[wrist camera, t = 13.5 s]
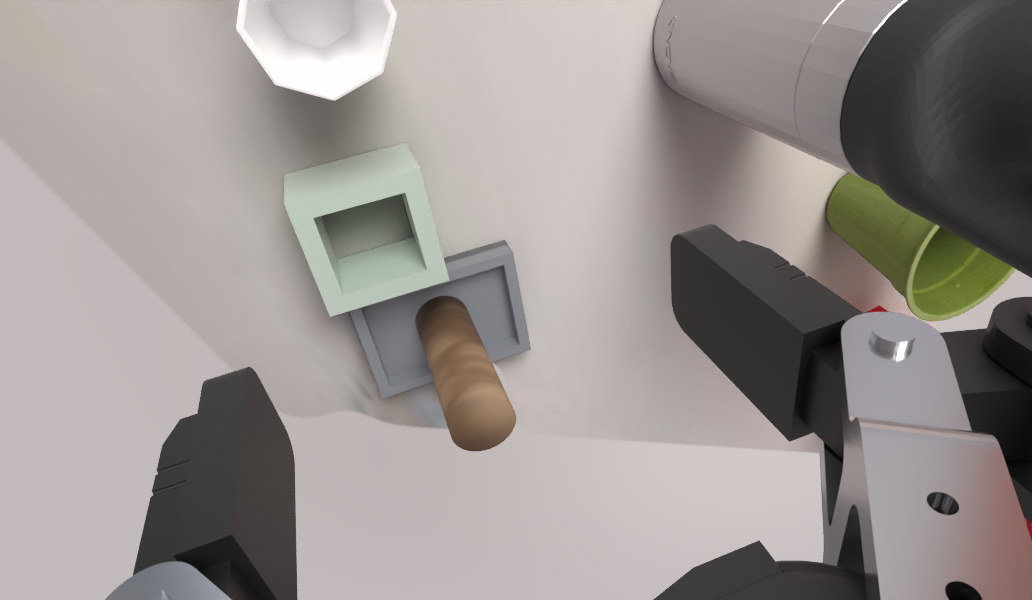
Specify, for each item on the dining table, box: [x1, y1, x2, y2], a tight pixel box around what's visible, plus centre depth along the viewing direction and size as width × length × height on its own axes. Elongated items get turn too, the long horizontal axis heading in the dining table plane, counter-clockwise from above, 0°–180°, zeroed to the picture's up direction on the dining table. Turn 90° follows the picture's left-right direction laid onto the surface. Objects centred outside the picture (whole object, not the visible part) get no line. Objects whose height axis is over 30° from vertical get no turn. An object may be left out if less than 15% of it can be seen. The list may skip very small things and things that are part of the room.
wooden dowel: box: [415, 296, 516, 451], centre depth 42 cm, size 4×4×12 cm
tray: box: [349, 240, 531, 398], centre depth 46 cm, size 12×9×2 cm
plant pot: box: [827, 173, 1016, 321], centre depth 50 cm, size 12×12×11 cm
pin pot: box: [284, 142, 450, 317], centre depth 39 cm, size 8×8×5 cm
